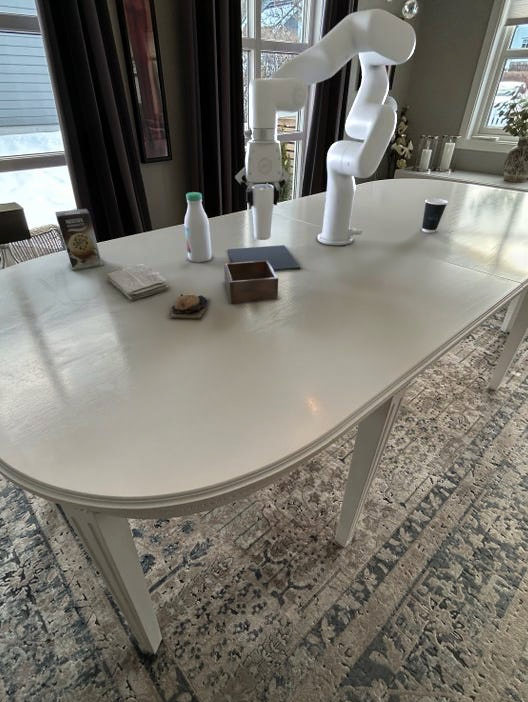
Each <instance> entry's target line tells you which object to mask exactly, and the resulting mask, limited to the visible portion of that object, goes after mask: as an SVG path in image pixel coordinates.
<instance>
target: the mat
mask: <svg viewBox="0 0 528 702" xmlns="http://www.w3.org/2000/svg"><path fill="white" fill-rule="evenodd" d="M227 252H228V255H229V257H230V260H231V263H238V262H251V261H264V260H268V261H269V263H270V265H271V267H272V268H273V270H274V272H280V271H293V270H300V269H301V265H299V263H298V262H297V261H296V259H295V258H294V257H293V255H292V253H290V251H289V250H288V249H287V247H286V246H285V245H284V244H281V245H268V246H267V245H266V246H256V247H240V248H239V247H238V248H227Z"/></svg>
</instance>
